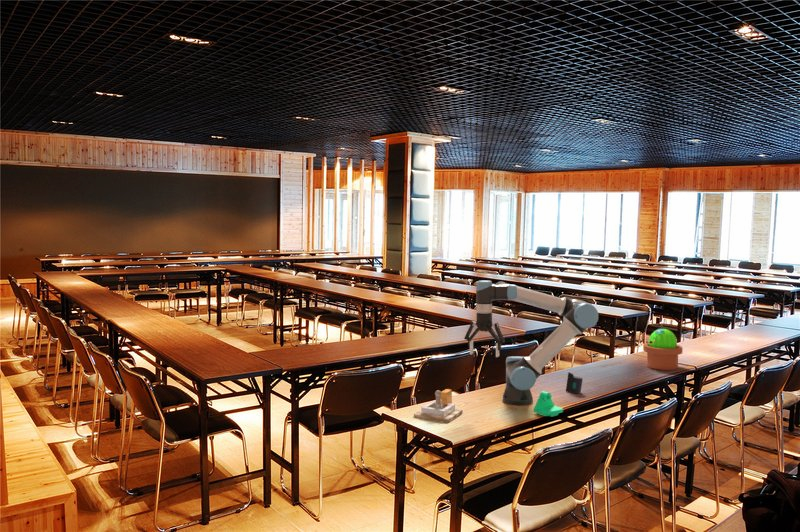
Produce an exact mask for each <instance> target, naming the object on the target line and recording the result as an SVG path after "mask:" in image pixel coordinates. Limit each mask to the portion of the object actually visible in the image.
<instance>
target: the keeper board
mask: <svg viewBox="0 0 800 532" xmlns="http://www.w3.org/2000/svg"><path fill="white" fill-rule="evenodd" d="M441 392H442V391H441V390H439V389H438V390H436V391H435V392H434V395H435V401H436V408H437V409H441ZM461 413H462V414H464V413H463V409H456V408H455V411H453V412H452V413H450V414H449V415H447V416H446V417H439V416H433V415H427V414H421V409H420V410H418V411H416V412H415V413H413V418H418V419H423V420H429V419H430V421H435V420H436V422H440V421H443V422H442V423H446V422H447V424H448V423H450V422H452V421H453V420H454V418H455V419H456V418H458V417H459V416H460V415H462V414H461ZM457 416H458V417H457ZM451 420H452V421H451Z"/></svg>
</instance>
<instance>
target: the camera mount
mask: <svg viewBox="0 0 800 532" xmlns="http://www.w3.org/2000/svg"><path fill="white" fill-rule="evenodd" d="M563 412H564V409H563V408H562V407H559V406H558V405H555V403H554V402H553V400H552V394H551V393H550V392H548V391H544V390H543V391H541V392H540V394H539V396H538V399H537V401H536V403H535V405H534V408H533V413H535V414H537V415H541V416H544V417H551V418H552V417H556V416H559V414H561V413H563Z"/></svg>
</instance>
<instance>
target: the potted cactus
mask: <svg viewBox="0 0 800 532" xmlns="http://www.w3.org/2000/svg"><path fill="white" fill-rule="evenodd" d="M642 350H643V352H645V353H646V354H647V355H646V365H647V367H648V368H650V369H654V370H658V371H659V370H660V371H661V370H662V371H674V370H677V369H678V368H679V355H682V354H683V346H682V345H680V344H678V339H677V337H676V335H675V334H674V333H673V331H672V330H670V329H667V328H657V329H656V330H654V331H653V332H652V333H651V334H650V336H649V338H648V342H646V343H645V342H644V343H643V346H642Z"/></svg>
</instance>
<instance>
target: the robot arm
mask: <svg viewBox="0 0 800 532" xmlns="http://www.w3.org/2000/svg"><path fill="white" fill-rule="evenodd" d="M475 286H476V290H475V291H476V294H475V295H476V297H475V298H476V316H475V317H476V321H475V320H471V321H470V323H469V328H468V329H467V331H466V333H465V335H464V337H463V338H464V340H466V341H467V347H468V348H469V355H473V354H474V340H473V339H474V338H475V336H476V335H477V334H478V333H479V332H485V333H486V332H488V333H489V334H490V335H491V337H492V338H493V340H494V341H495V342H496V343H495V358H498V357H500V351H501V350H502V344H503V343H505V341H506V340H505V338H504V335H503V333H502V331H501V328H500V326H499V322H493V313H492V311H493V301H513V302H517V303H520V304H521V303H522V304H524V305H525V304H526V305H529V306H533V307H536V308H539V309H543V310H545V311H546V310H547V311H550V312H554V313H557V314H558V315H559V316H560V317H563V318H562V319H563V321H562V323H560V325H558V327H557V328H555V330H553V331H552V332H551V334H549V335H548V336H547V337H546V338H545V339H544V340H543V341H542V343H541V344H539V345H538V347H536V349H534V351H533V352H531V353H530V354H529V356H518V355H517V356H516V355H515V356H513V355H512V356H507V357H506V359H505V389H504V392H503V394H502V402H503V401H504V402H503V403H506V404H507V403H508V404H507V405H514V406H528V405H530V404H532V403H533V401H534V399H533V394H532V391H531V389H532V388H533V387H534V386H535V384H536V382H537V379H538V378H539V377H541V375H542V370H543V369H544V367H545V366H546V365H548V363H549V362H551V361H552V359H553V358H555V356H556V355H557V354H559V353H560V352H561V351H562V350H563V349H564V348H565V347H566V346H567V345H568V344H569V342H571V340H572V339H574V338H575V337H576V336H577V335H582V334H583V333H584V332H586V330H588V329H591V328H593V327H595V326H596V325H597V324H598V323H597V322H599V312H598V310H597V308H596V307H595V306H594V305H593V304H592V303H590V302H587V301H585V300H582V299H576V298H575V299H574V298H569V297H566V296H564V297H558V296H556V295H555V296H554V295H552V294H551V295H550V294H547V293H544V292H540V291H536V290H533V289H528V288H525V287H522V286H518V285H516V284H510V283H507V282H505V281H498V282H496V283H495V284H493V281H492V280H483V279H482V280H478V281H477V282H476V285H475ZM475 326H476V327H477V328H475ZM474 328H475V330H474V331H473V329H474ZM493 328H494V329H495V331H494V329H493ZM472 331H473V333H472ZM471 333H472V334H471Z"/></svg>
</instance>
